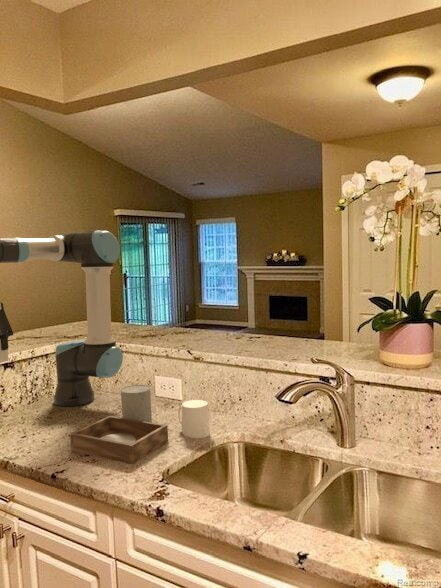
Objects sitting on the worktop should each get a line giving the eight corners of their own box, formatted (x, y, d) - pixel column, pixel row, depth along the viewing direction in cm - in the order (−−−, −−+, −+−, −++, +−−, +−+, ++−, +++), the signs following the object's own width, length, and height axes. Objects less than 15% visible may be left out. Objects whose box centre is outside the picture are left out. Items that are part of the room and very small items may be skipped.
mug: (215, 403, 152) (196, 410, 146) (216, 433, 153) (197, 440, 147) (188, 396, 160) (169, 402, 154) (189, 424, 161) (170, 431, 155)
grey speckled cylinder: (130, 433, 155) (128, 394, 154) (117, 425, 162) (115, 388, 161) (157, 426, 160) (155, 389, 159) (143, 418, 168) (142, 383, 167)
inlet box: (110, 431, 157) (109, 415, 157) (168, 441, 147) (167, 425, 146) (71, 450, 142) (70, 434, 142) (132, 464, 132) (131, 445, 131)
